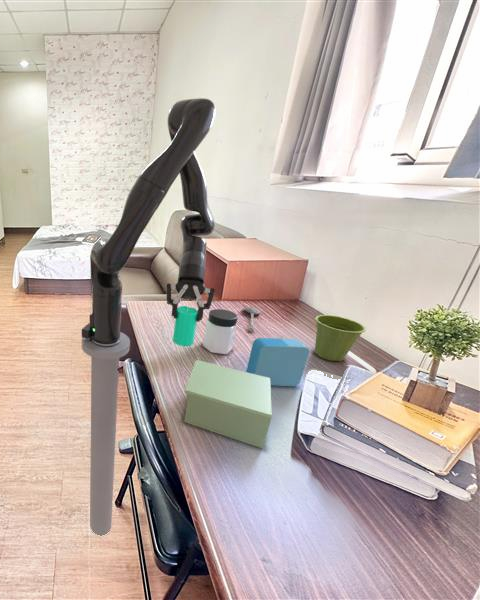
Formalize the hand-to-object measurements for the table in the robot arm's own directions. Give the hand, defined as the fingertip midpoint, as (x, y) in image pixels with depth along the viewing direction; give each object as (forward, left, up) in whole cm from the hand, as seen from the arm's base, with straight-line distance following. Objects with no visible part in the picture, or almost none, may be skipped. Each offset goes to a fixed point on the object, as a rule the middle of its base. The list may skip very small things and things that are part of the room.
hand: (186, 319), depth 89 cm
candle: (0, +2, -8) cm, 9 cm away
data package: (+24, +1, -14) cm, 28 cm away
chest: (+14, -19, -14) cm, 27 cm away
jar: (+9, +13, -14) cm, 21 cm away
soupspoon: (+18, +41, -14) cm, 46 cm away
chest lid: (+14, -19, -6) cm, 24 cm away
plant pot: (+40, +24, -14) cm, 48 cm away
